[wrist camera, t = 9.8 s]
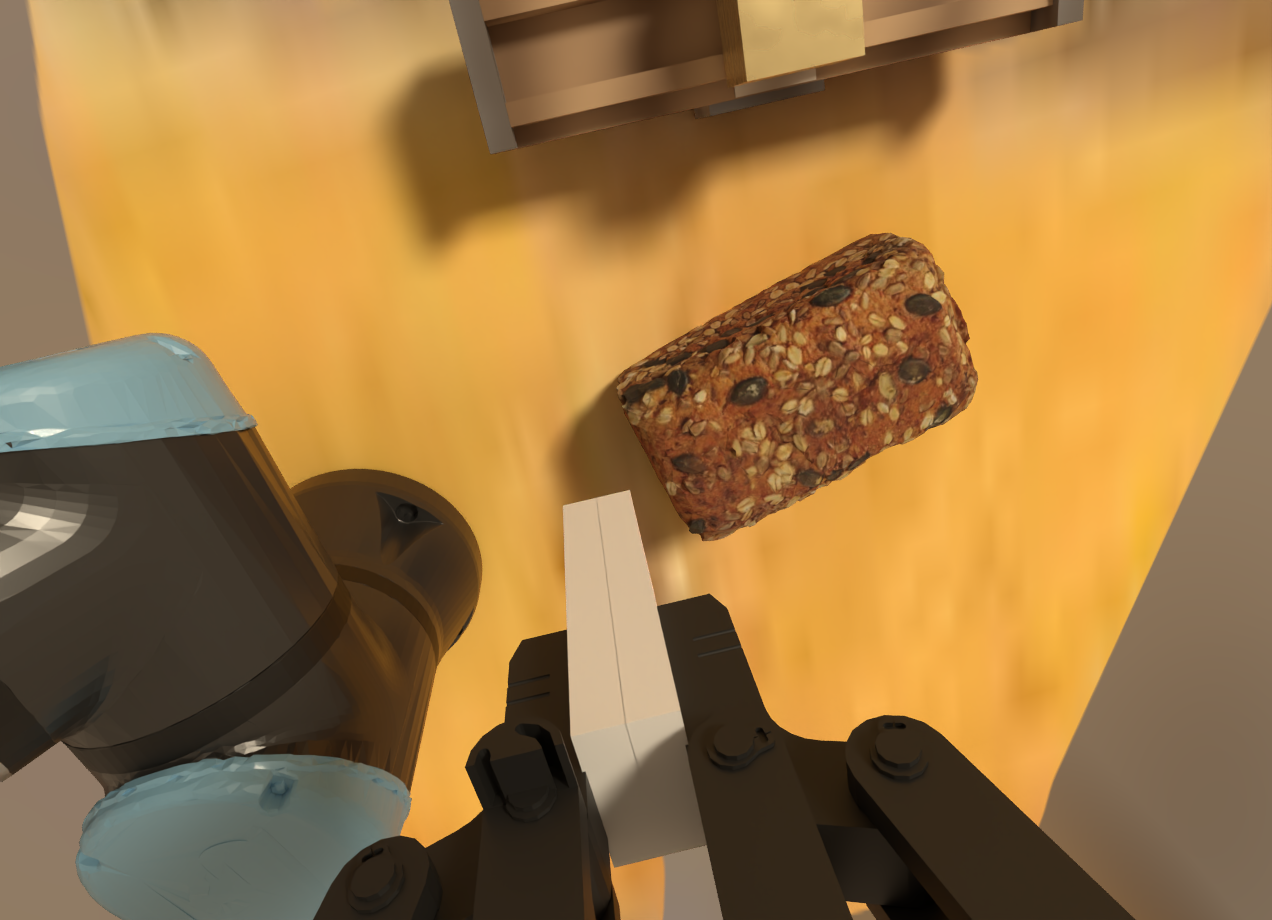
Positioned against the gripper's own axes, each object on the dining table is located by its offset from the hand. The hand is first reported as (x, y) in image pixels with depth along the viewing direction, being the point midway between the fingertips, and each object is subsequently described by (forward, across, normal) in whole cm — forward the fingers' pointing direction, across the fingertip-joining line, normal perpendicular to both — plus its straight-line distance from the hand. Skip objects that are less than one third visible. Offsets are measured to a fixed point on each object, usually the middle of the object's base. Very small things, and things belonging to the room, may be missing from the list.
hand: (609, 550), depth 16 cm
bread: (+30, +11, -7) cm, 33 cm away
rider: (+24, +12, +12) cm, 29 cm away
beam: (+29, +12, +12) cm, 34 cm away
